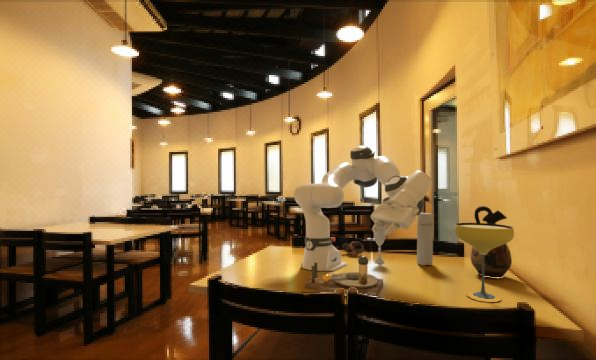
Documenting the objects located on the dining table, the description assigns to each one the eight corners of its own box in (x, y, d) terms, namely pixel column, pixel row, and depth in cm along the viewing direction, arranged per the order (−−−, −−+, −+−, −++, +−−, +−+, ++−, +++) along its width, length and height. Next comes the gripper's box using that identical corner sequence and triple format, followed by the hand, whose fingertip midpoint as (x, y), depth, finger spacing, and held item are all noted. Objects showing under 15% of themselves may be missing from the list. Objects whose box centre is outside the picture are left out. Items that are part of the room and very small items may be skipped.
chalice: (370, 260, 175) (370, 225, 175) (383, 260, 175) (383, 225, 176) (375, 264, 168) (375, 227, 168) (388, 264, 168) (388, 227, 168)
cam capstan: (313, 279, 131) (313, 250, 131) (361, 274, 139) (362, 246, 140) (333, 293, 116) (334, 259, 116) (387, 286, 124) (387, 255, 124)
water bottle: (428, 267, 162) (428, 214, 163) (413, 264, 169) (413, 213, 169) (438, 264, 168) (438, 213, 168) (423, 261, 174) (423, 212, 175)
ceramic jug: (510, 274, 151) (510, 206, 151) (512, 283, 138) (513, 208, 138) (467, 269, 159) (467, 204, 159) (465, 277, 146) (466, 206, 146)
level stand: (318, 276, 144) (318, 257, 144) (383, 284, 134) (383, 263, 134) (301, 291, 125) (301, 269, 125) (375, 300, 115) (375, 276, 115)
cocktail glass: (445, 289, 128) (445, 222, 128) (492, 289, 129) (492, 222, 129) (472, 307, 110) (472, 229, 110) (526, 306, 111) (527, 229, 111)
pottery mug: (362, 253, 195) (366, 242, 191) (360, 264, 187) (364, 253, 183) (341, 247, 197) (344, 236, 193) (338, 257, 189) (342, 246, 185)
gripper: (426, 213, 121) (403, 243, 117) (389, 209, 140) (369, 234, 136) (416, 201, 119) (392, 230, 115) (380, 198, 138) (359, 223, 134)
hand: (379, 232), depth 126 cm, fingers open, 6 cm apart
